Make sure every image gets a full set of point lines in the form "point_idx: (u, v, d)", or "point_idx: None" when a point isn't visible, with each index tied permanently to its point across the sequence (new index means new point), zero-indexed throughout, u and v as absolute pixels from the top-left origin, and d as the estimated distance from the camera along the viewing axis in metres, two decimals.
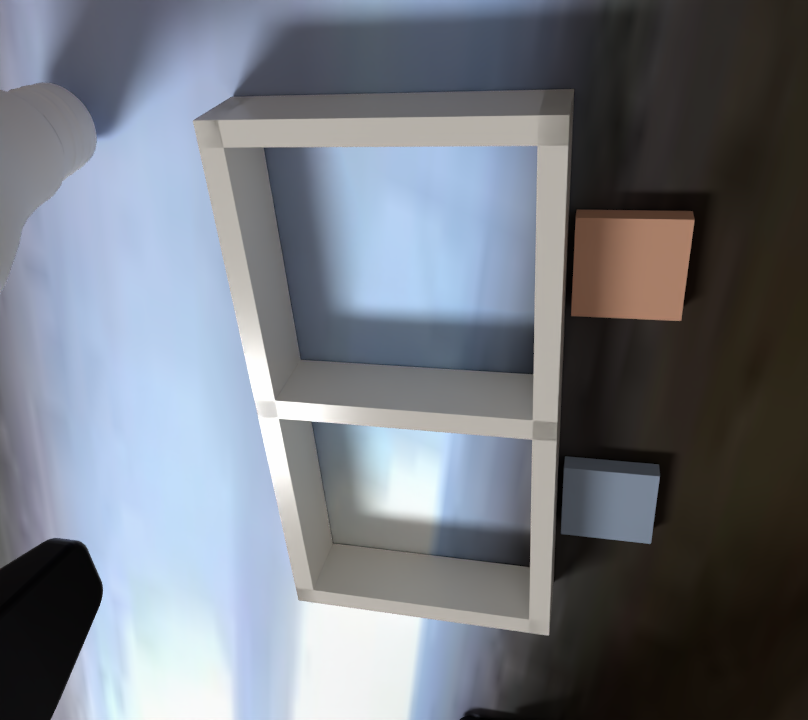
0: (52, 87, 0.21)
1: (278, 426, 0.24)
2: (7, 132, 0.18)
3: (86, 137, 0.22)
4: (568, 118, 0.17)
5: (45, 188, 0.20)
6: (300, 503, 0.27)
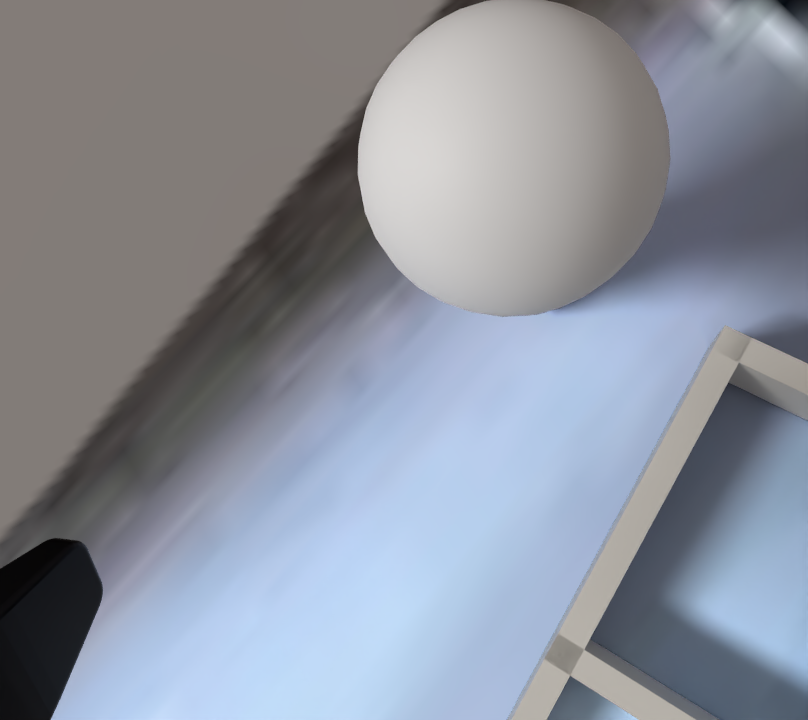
0: None
1: (561, 685, 0.18)
2: None
3: None
4: None
5: None
6: None
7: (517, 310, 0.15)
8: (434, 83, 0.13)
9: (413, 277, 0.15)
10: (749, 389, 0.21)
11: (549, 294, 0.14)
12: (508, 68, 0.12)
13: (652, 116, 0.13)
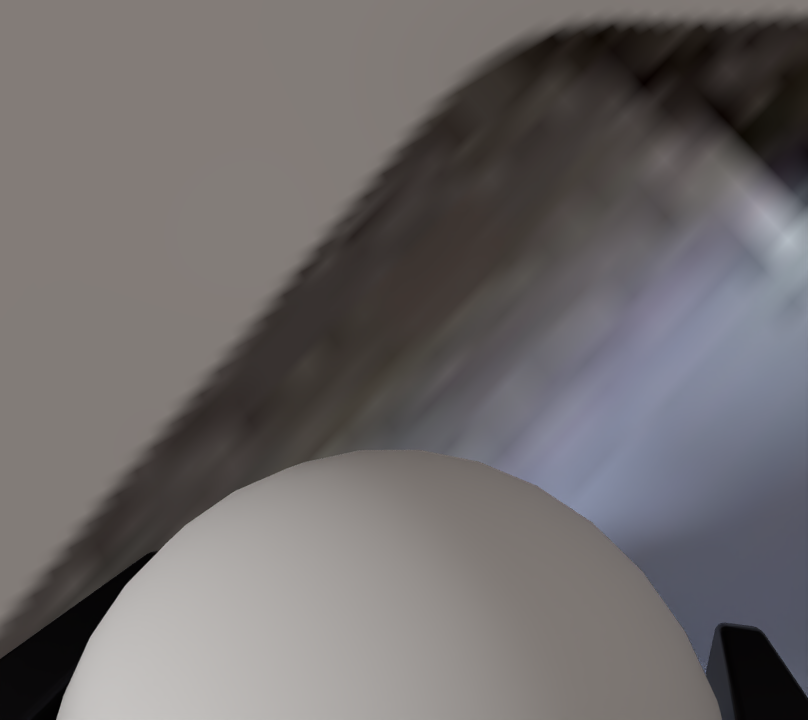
0: None
1: None
2: None
3: None
4: None
5: None
6: None
7: None
8: None
9: None
10: None
11: None
12: None
13: None
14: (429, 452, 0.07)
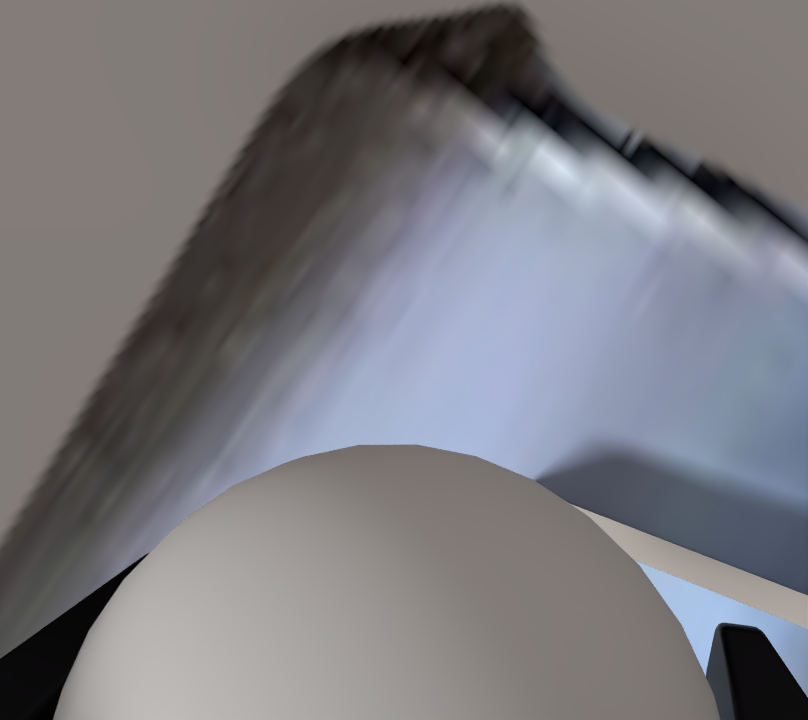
0: None
1: None
2: None
3: None
4: None
5: None
6: None
7: None
8: None
9: None
10: None
11: None
12: None
13: None
14: (427, 447, 0.08)
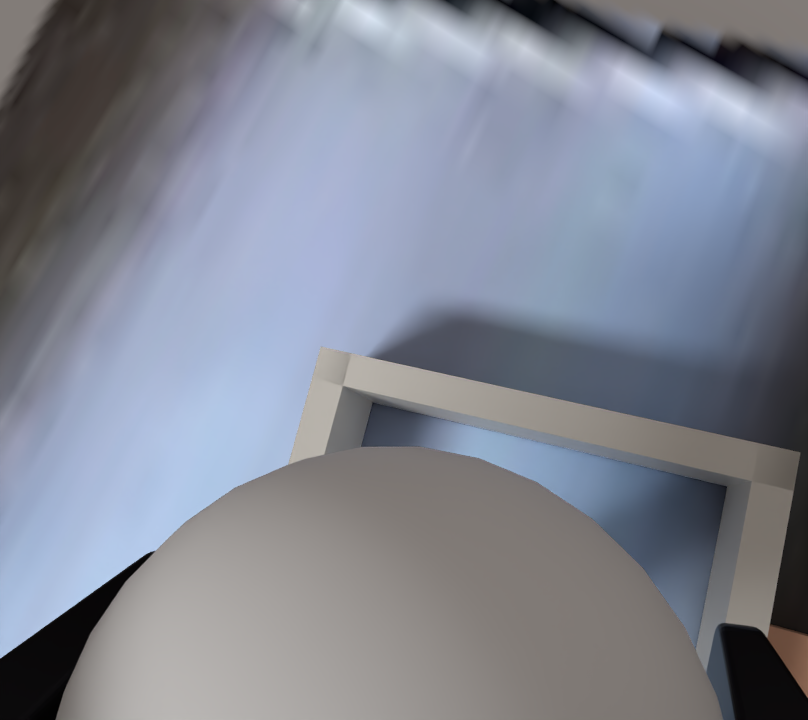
0: None
1: None
2: None
3: None
4: (798, 456, 0.14)
5: None
6: None
7: None
8: None
9: None
10: (398, 407, 0.18)
11: None
12: None
13: None
14: (429, 449, 0.07)
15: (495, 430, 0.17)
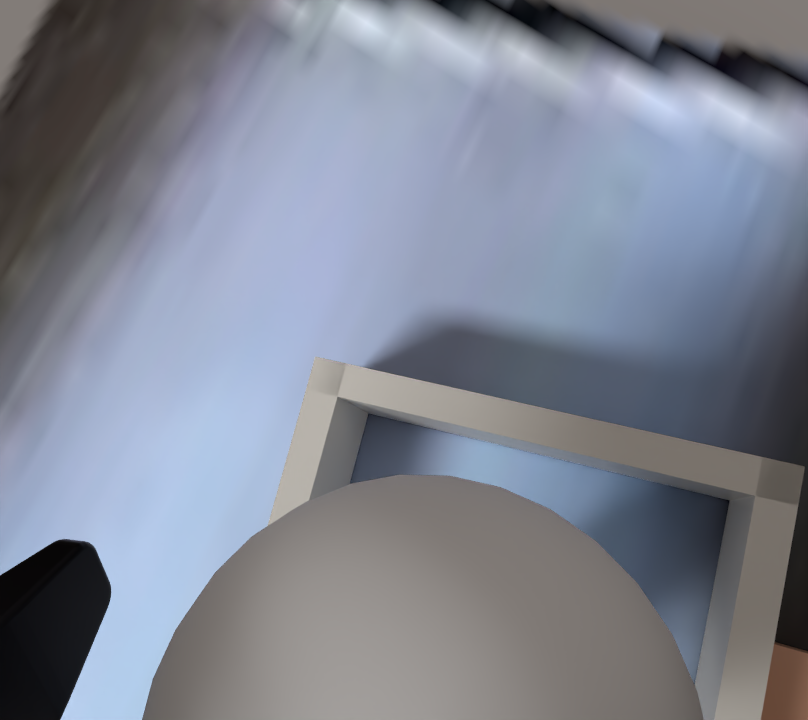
0: None
1: None
2: None
3: None
4: (802, 471, 0.13)
5: None
6: None
7: None
8: None
9: None
10: (394, 418, 0.17)
11: None
12: None
13: None
14: (458, 478, 0.09)
15: (493, 442, 0.17)
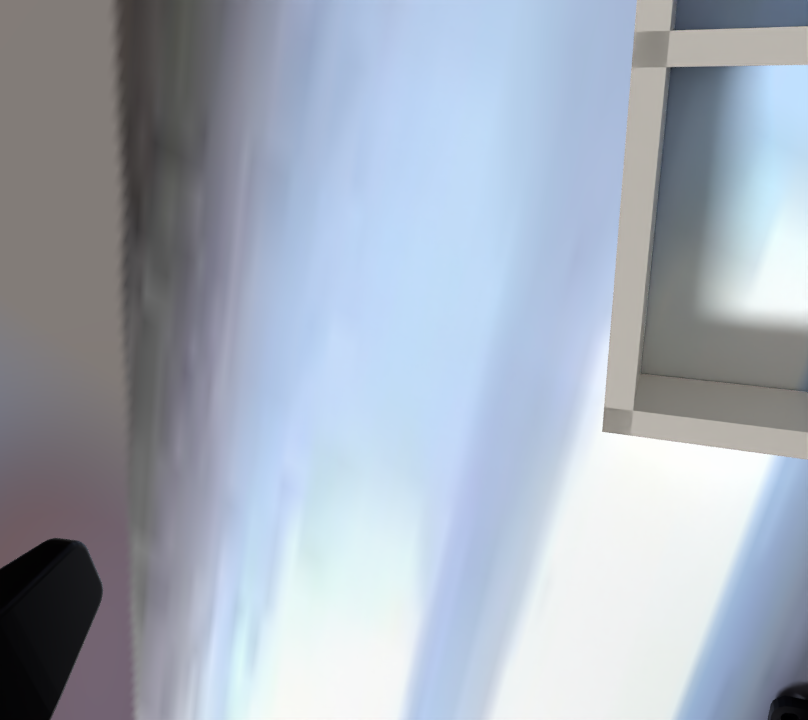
0: None
1: (661, 82, 0.16)
2: None
3: None
4: None
5: None
6: (649, 247, 0.18)
7: None
8: None
9: None
10: None
11: None
12: None
13: None
14: None
15: None
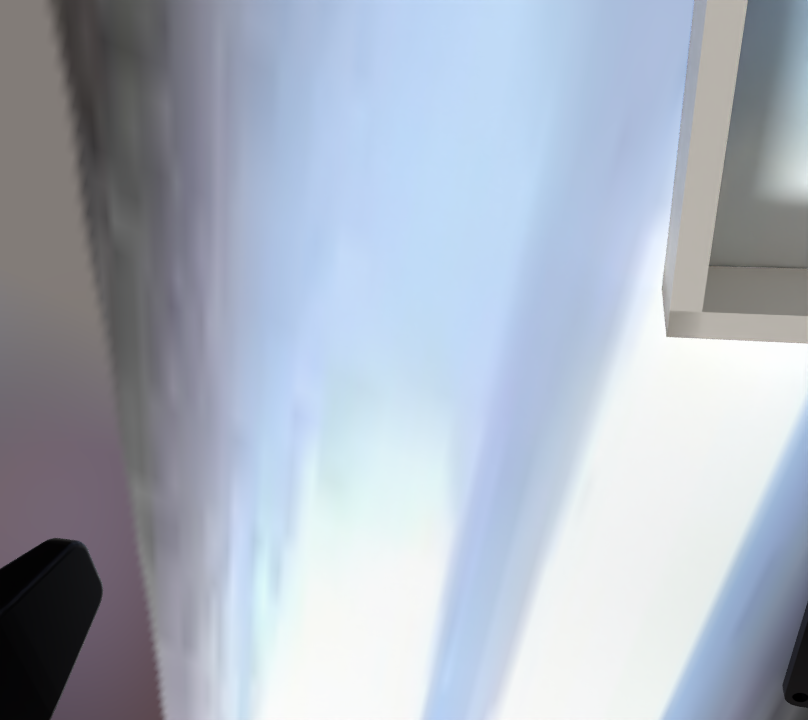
0: None
1: None
2: None
3: None
4: None
5: None
6: (726, 129, 0.15)
7: None
8: None
9: None
10: None
11: None
12: None
13: None
14: None
15: None
